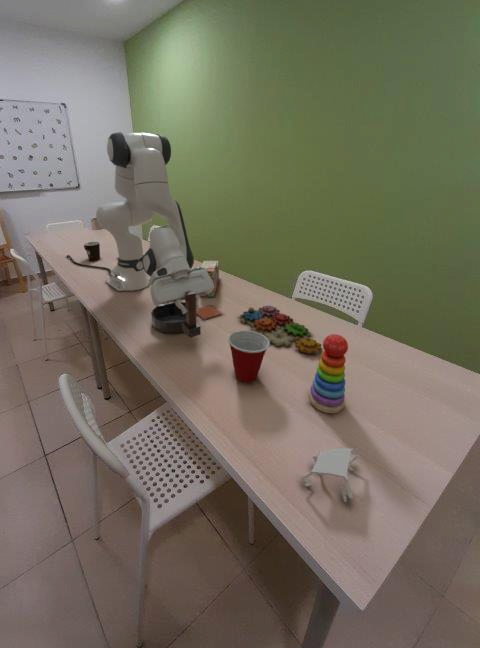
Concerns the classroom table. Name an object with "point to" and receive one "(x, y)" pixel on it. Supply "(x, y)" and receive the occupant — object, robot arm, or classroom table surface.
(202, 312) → the plate
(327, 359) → the stacking toy
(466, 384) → the classroom table surface
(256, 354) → the plastic cup
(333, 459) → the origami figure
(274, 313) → the gear puzzle
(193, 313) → the brown post with base
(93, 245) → the coffee mug
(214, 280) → the food box
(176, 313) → the pan
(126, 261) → the robot arm
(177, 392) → the classroom table surface
